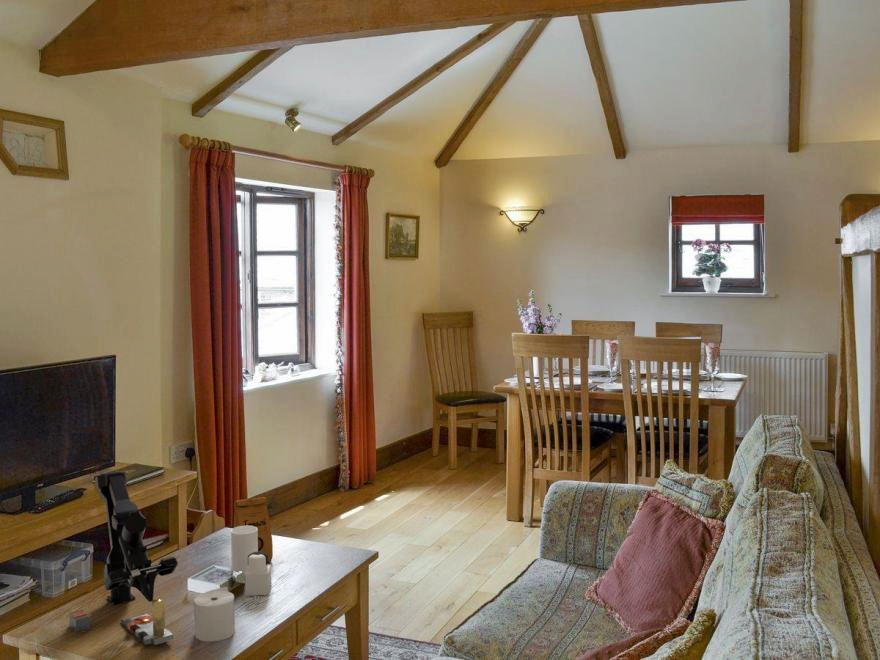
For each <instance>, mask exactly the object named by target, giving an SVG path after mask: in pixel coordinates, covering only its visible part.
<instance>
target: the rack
mask: <svg viewBox="0 0 880 660" xmlns="http://www.w3.org/2000/svg"><path fill="white" fill-rule="evenodd" d="M151 609H152V616H151V615H150V614H149V613H144V615H142V614H141V616H140V615H137V616H134V617H131V618H129V619H130V623H127V625H128V629H129V630H130V631H131V630H135V629H137V630H135V635H136V636H137V637H138V638H139V637H142V636H145V637H143V640H144V643H145V644H146V645H147V646H149V645H148V644H150V645H154V646H157V645H160V644H163V643H166V642H169V641H172V640H174V633H172V632H171V631H170V630H169V629H167V628H166V621H165V620H166V618H165V617H166V616H165V615H166V611H165V599H164V598H160V597H159V598H153V601H152V608H151ZM128 629H127V630H128ZM129 630H128V631H129ZM130 631H129V632H130ZM135 635H134V636H135ZM136 636H135V637H136ZM137 637H136V638H137ZM138 638H137V639H138ZM144 643H143V644H144ZM151 643H153V644H151ZM145 644H144V645H145ZM146 645H145V646H146Z"/></svg>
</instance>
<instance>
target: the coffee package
mask: <svg viewBox="0 0 880 660" xmlns="http://www.w3.org/2000/svg"><path fill="white" fill-rule="evenodd" d="M233 506H234V515H233V517H234V518H233V528H235V527H239V526H254V527H257V530H258V551H260V552H265V553H267V555H268V563H272V559H273V557H274V555H273V554H274V553H273V552H274V551H273V550H274V549H273V547H274V545H273V535H272V529H271V528H272V527H271V523H270V516H269V510H268V505H267V497H266V496H264V497H263V496H262V497H256V498H255V497H254V498H245V499H237V500H234V505H233Z"/></svg>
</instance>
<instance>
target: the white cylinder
mask: <svg viewBox="0 0 880 660" xmlns="http://www.w3.org/2000/svg"><path fill="white" fill-rule="evenodd" d="M230 541H231V542H230V545H231V549H230V550H231V572H232V571H235V572H239V571H242V572H243V573H244V580H245V572H246V570H247V567H248V555H249V554H251V553H253V552H258V530H257V527H254V526H239V527H235V528H234V527H233V528H231V530H230Z"/></svg>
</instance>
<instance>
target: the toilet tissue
mask: <svg viewBox="0 0 880 660" xmlns="http://www.w3.org/2000/svg"><path fill="white" fill-rule="evenodd" d="M193 608H194V609H193V610H194V611H193V612H194V614H193V616H194V622H193V623H194V636H195V638H196V639H197V640H199V641H202V642H211V643H212V642H220V641H224V640H226V639H229V638H231V637H232V636H233V635H234V634H235V631H236V629H235V627H236V625H235V624H236V623H235V621H236V620H235V618H236V617H235V595H234V593H232V592H230V591H229V590H228V586H225V587H219V588H216V589H210V590H208V591H205V592H202V593H200V594H198V595H197V596H196V597H195V598H194V600H193Z"/></svg>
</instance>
